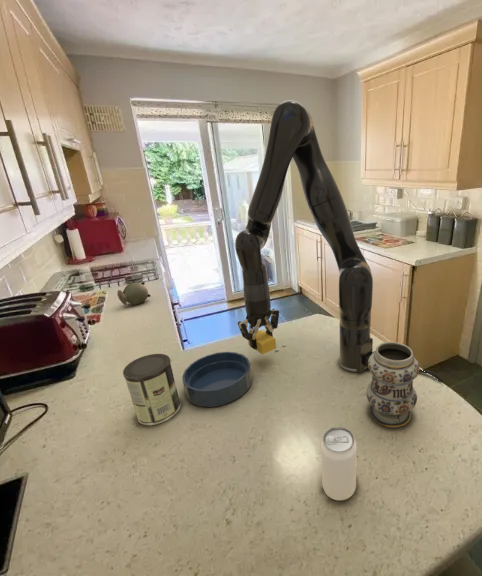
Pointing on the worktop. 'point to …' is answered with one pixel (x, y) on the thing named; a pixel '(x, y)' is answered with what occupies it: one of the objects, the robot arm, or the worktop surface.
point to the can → (338, 463)
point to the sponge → (264, 342)
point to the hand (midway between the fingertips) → (262, 344)
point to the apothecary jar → (392, 384)
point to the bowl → (217, 379)
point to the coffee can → (152, 388)
